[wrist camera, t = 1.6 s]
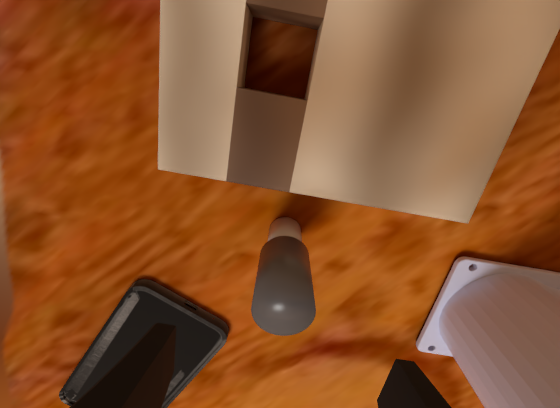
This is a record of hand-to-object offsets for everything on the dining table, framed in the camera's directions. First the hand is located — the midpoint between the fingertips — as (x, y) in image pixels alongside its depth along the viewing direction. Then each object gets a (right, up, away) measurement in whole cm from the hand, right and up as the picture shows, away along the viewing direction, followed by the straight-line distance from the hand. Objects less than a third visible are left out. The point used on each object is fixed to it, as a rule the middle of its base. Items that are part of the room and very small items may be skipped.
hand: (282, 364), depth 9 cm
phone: (-11, -7, +14) cm, 19 cm away
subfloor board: (+3, +12, +5) cm, 13 cm away
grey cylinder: (0, +3, +9) cm, 9 cm away
